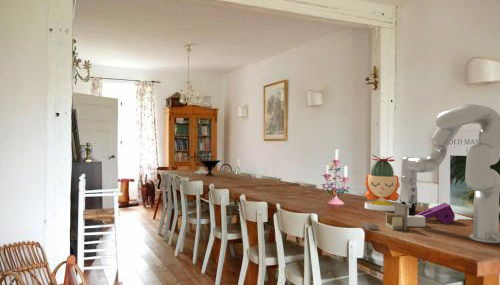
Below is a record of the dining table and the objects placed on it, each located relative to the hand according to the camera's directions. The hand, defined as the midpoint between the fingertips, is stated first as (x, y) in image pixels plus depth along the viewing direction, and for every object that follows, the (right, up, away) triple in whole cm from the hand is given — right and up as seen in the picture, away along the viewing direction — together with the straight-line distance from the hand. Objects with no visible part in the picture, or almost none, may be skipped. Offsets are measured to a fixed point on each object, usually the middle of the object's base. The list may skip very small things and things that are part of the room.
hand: (407, 213), depth 203 cm
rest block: (-22, -5, -9) cm, 25 cm away
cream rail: (+1, -6, 0) cm, 6 cm away
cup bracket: (-10, -6, -8) cm, 14 cm away
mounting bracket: (+19, -7, +13) cm, 24 cm away
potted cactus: (+5, -6, +54) cm, 54 cm away
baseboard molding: (+36, -8, +31) cm, 48 cm away
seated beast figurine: (+11, -7, +33) cm, 36 cm away
